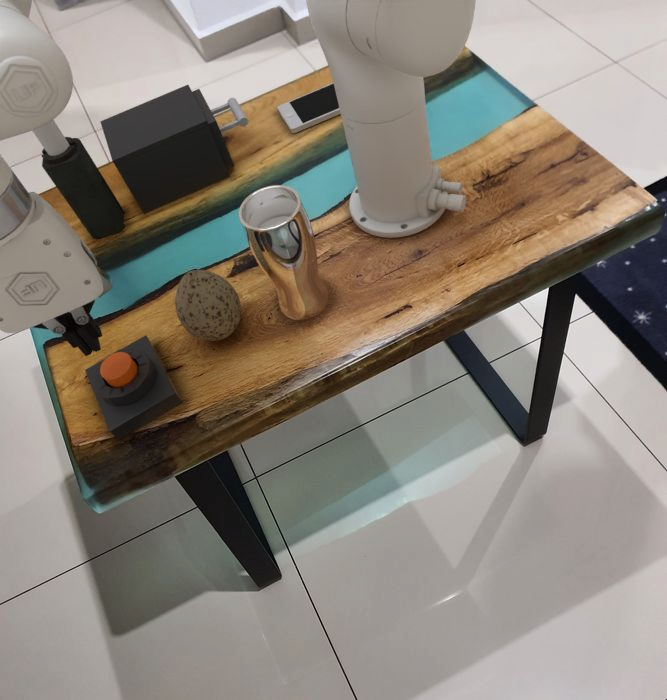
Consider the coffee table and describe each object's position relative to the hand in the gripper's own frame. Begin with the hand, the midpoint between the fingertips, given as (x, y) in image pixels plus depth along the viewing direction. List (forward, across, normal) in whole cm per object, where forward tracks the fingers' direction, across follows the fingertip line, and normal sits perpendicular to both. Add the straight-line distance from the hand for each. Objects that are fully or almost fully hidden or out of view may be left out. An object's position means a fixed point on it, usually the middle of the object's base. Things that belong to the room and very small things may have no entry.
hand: (91, 343), depth 67 cm
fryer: (+10, +14, +36) cm, 40 cm away
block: (+10, 0, 0) cm, 10 cm away
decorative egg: (+10, +12, +3) cm, 16 cm away
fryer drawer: (+9, +18, +36) cm, 41 cm away
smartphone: (+9, +40, +37) cm, 55 cm away
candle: (+10, +2, +32) cm, 33 cm away
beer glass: (+10, +22, +2) cm, 25 cm away
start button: (+6, 0, 0) cm, 6 cm away
